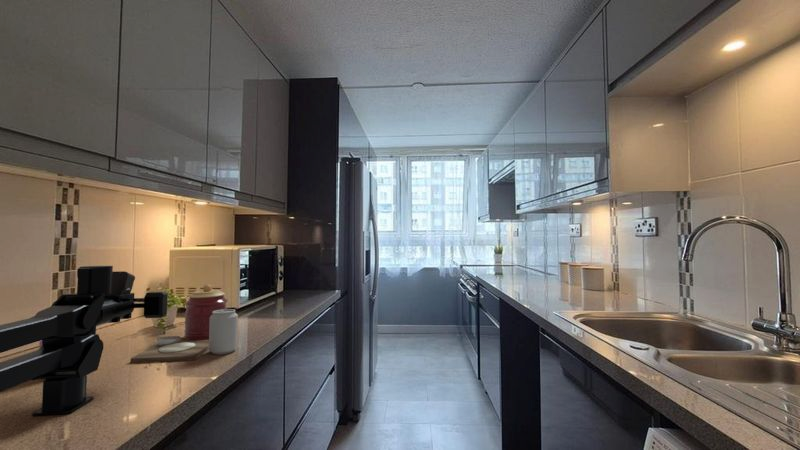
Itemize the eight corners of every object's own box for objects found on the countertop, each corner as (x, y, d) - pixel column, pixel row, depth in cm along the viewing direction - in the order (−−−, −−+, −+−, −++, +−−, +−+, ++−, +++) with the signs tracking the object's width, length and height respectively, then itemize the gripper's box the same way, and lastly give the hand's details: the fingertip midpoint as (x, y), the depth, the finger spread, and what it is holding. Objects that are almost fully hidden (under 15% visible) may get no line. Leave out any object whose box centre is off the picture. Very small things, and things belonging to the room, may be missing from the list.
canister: (200, 343, 112) (201, 287, 113) (175, 338, 117) (176, 285, 118) (235, 333, 123) (236, 283, 124) (210, 329, 129) (212, 281, 130)
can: (225, 356, 99) (226, 313, 100) (202, 354, 100) (203, 312, 101) (242, 348, 106) (243, 308, 107) (221, 346, 108) (221, 307, 108)
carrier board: (194, 359, 96) (194, 349, 96) (130, 362, 93) (130, 352, 94) (217, 342, 112) (217, 334, 112) (163, 345, 110) (163, 336, 110)
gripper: (149, 274, 80) (182, 269, 96) (58, 275, 78) (107, 270, 93) (147, 323, 80) (180, 310, 95) (55, 326, 77) (105, 312, 93)
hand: (144, 300), depth 94 cm, fingers open, 9 cm apart
